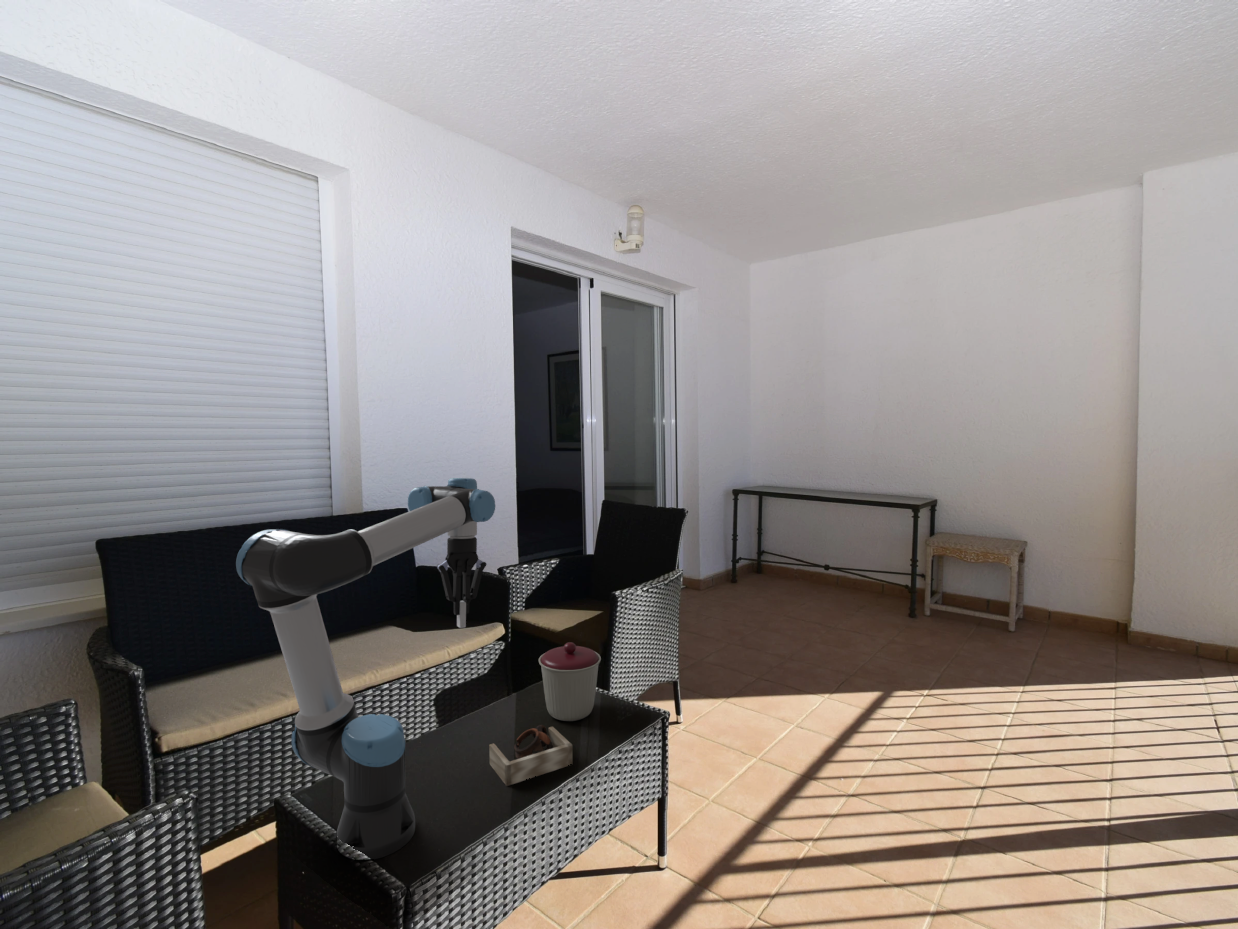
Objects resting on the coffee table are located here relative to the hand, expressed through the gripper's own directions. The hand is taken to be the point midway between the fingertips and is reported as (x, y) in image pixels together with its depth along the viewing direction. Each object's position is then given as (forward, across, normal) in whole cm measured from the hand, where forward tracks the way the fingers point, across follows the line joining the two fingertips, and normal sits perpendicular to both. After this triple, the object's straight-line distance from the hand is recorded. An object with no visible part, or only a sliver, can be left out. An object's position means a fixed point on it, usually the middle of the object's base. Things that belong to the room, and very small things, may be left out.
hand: (461, 626), depth 162 cm
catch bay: (+32, -12, +18) cm, 38 cm away
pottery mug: (+32, -15, +15) cm, 38 cm away
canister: (+30, -33, -1) cm, 45 cm away
